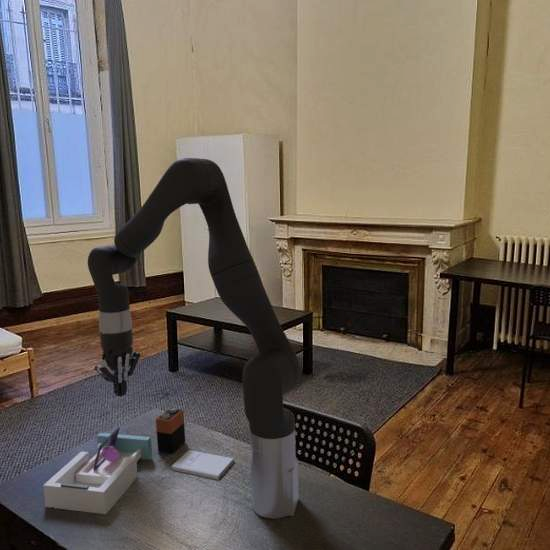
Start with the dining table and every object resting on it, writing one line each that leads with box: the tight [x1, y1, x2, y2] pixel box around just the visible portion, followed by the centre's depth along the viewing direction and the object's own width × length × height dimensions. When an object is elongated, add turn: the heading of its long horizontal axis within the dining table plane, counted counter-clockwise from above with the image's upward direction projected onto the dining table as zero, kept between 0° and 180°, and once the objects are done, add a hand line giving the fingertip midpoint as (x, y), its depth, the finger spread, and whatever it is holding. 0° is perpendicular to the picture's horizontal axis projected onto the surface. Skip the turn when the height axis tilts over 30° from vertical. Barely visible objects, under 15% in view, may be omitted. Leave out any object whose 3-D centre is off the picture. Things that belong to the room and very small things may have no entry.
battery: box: [155, 406, 186, 455], centre depth 132 cm, size 4×7×10 cm, turn 159°
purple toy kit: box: [93, 427, 123, 470], centre depth 123 cm, size 7×5×9 cm
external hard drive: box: [171, 449, 235, 480], centre depth 124 cm, size 2×8×12 cm
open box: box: [43, 451, 138, 515], centre depth 114 cm, size 14×14×5 cm
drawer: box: [76, 432, 153, 485], centre depth 122 cm, size 14×14×5 cm
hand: (120, 395), depth 128 cm, fingers closed
